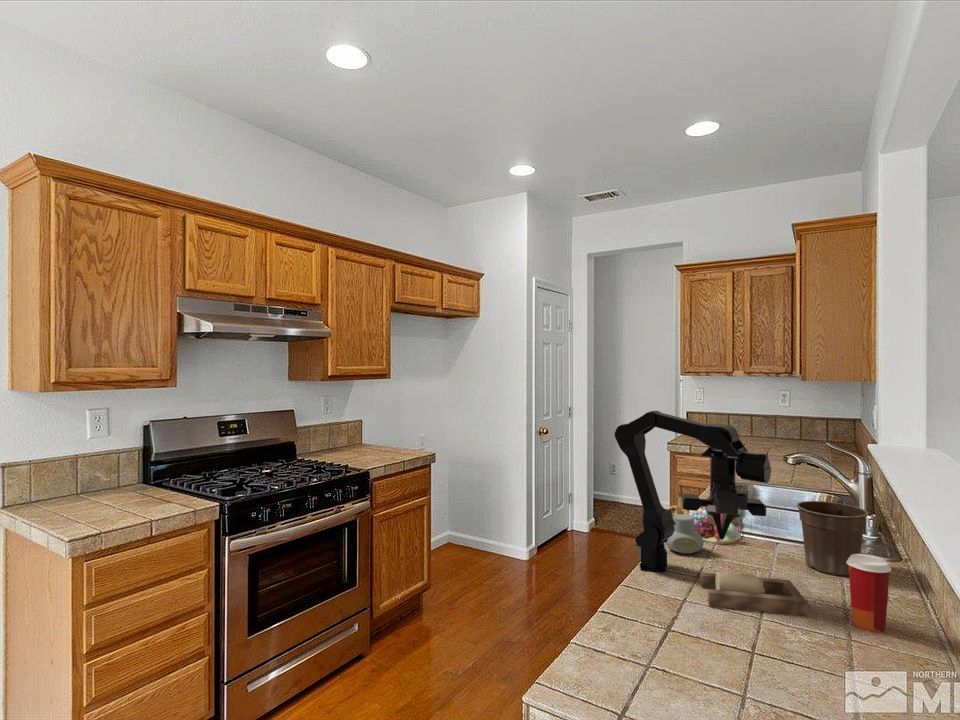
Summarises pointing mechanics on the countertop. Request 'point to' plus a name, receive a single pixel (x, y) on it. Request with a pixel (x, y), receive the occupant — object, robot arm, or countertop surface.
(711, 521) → the candy landscape model
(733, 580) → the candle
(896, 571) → the countertop surface
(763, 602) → the u rest
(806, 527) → the plant pot
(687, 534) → the air freshener
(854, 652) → the countertop surface
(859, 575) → the paper cup
